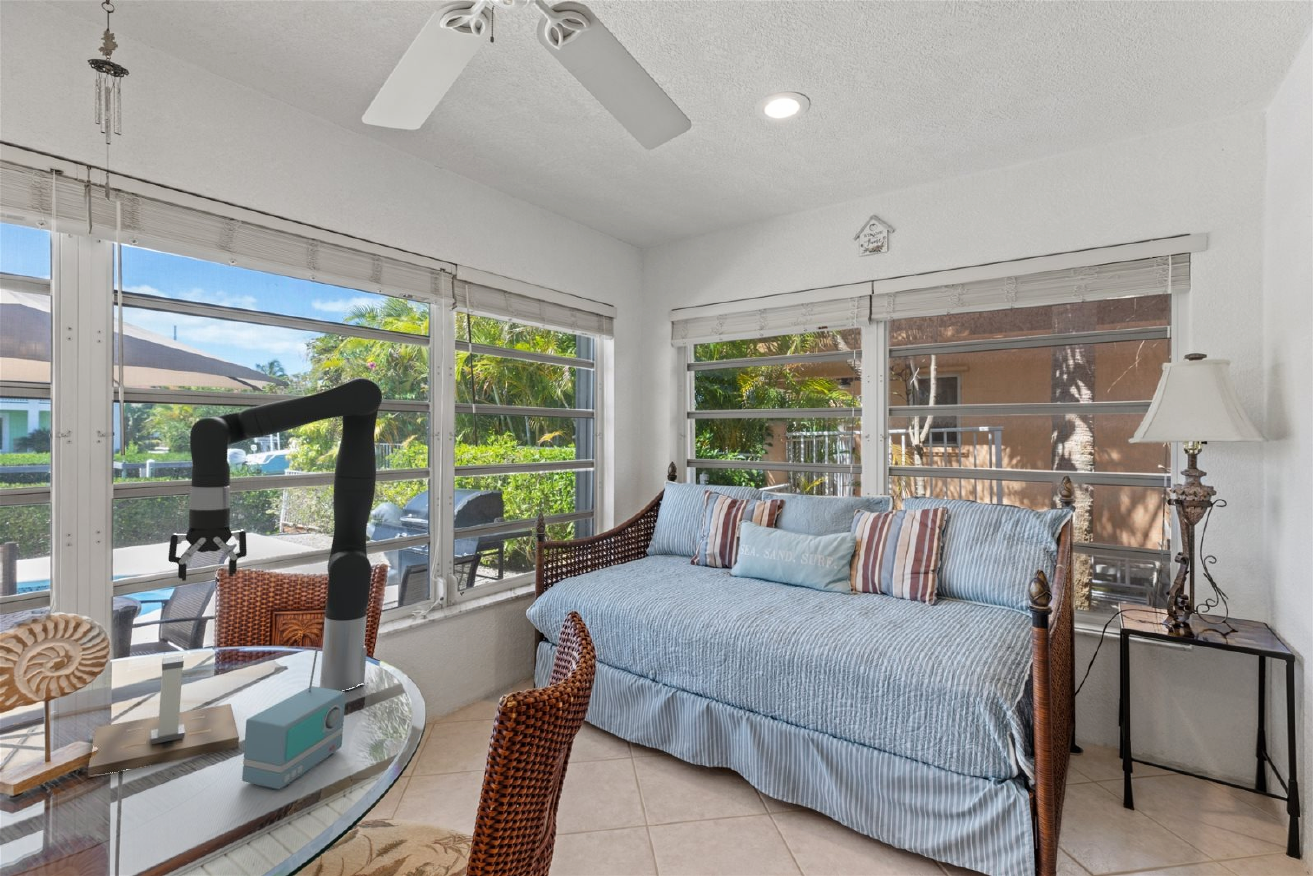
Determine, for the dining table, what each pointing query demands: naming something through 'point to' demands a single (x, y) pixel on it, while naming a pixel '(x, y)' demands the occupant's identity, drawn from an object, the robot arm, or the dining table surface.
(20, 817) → the dining table surface
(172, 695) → the fader
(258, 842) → the dining table surface
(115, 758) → the brown wooden board
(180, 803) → the dining table surface
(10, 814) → the dining table surface
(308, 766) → the radio
